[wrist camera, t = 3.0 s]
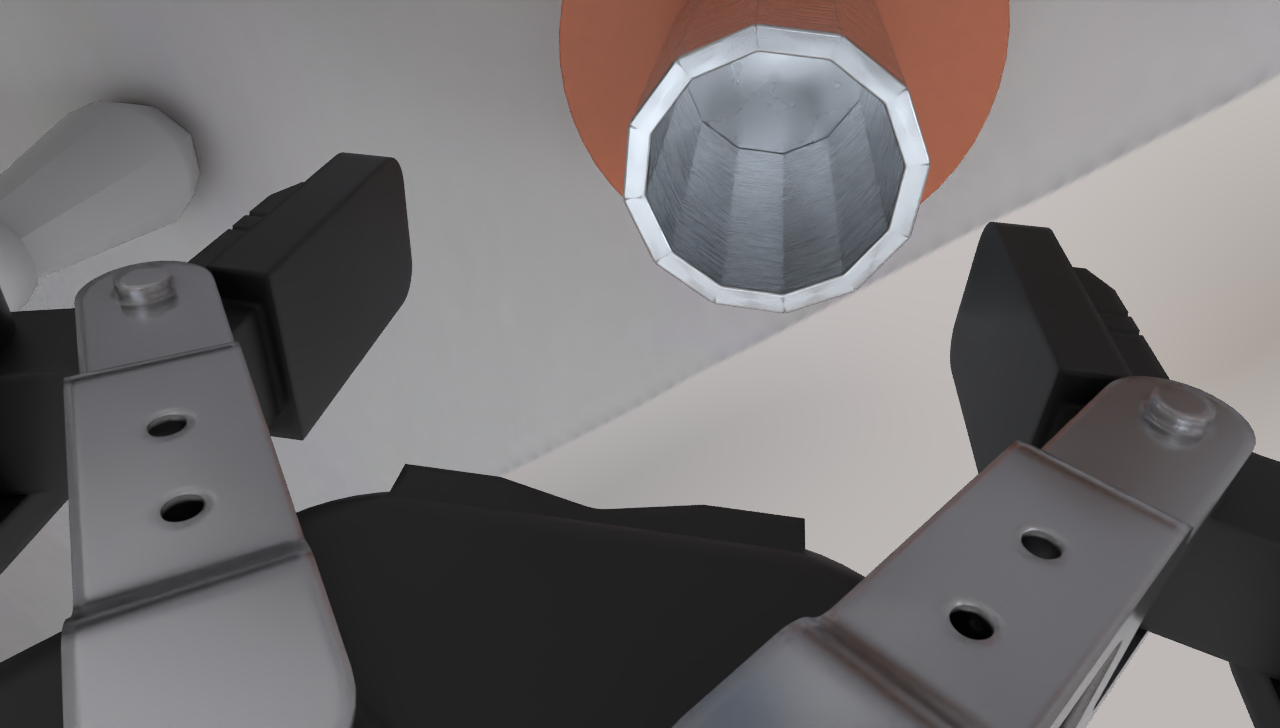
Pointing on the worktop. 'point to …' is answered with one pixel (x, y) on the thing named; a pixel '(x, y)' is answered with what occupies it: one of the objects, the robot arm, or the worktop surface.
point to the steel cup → (775, 151)
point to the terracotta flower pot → (913, 17)
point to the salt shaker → (90, 190)
